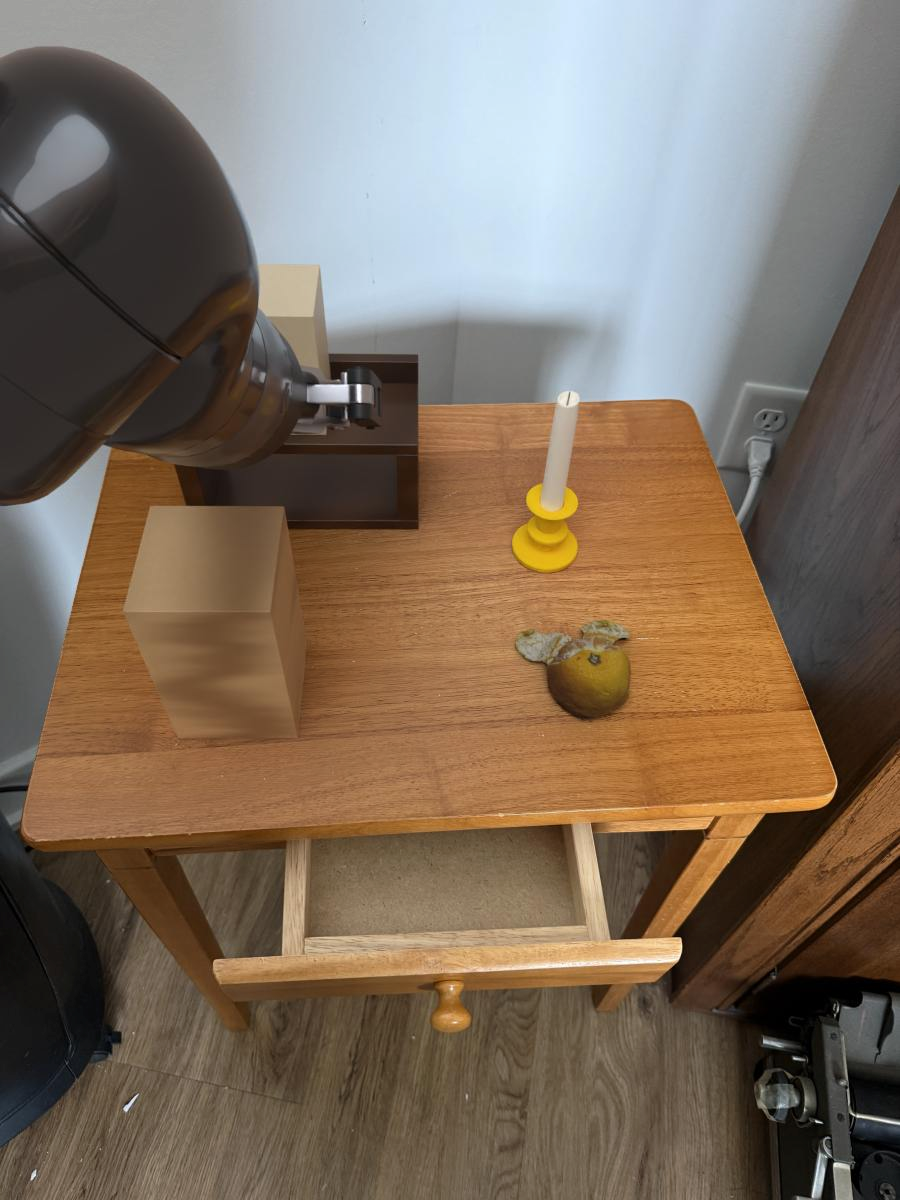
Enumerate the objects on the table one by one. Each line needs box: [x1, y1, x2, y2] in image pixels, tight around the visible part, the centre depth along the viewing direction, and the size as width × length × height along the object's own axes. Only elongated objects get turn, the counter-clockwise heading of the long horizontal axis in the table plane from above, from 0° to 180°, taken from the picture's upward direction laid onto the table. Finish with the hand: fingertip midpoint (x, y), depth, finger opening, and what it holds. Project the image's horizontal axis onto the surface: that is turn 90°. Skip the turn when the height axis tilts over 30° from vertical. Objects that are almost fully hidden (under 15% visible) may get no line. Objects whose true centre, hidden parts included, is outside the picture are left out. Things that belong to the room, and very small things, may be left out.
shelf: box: [173, 352, 420, 530], centre depth 69 cm, size 18×8×11 cm, turn 91°
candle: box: [511, 390, 581, 574], centre depth 64 cm, size 5×5×16 cm
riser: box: [122, 505, 308, 740], centre depth 56 cm, size 8×8×14 cm
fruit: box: [514, 619, 632, 720], centre depth 62 cm, size 8×8×4 cm
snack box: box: [258, 263, 331, 435], centre depth 63 cm, size 4×6×10 cm
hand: (266, 411), depth 53 cm, fingers open, 8 cm apart
